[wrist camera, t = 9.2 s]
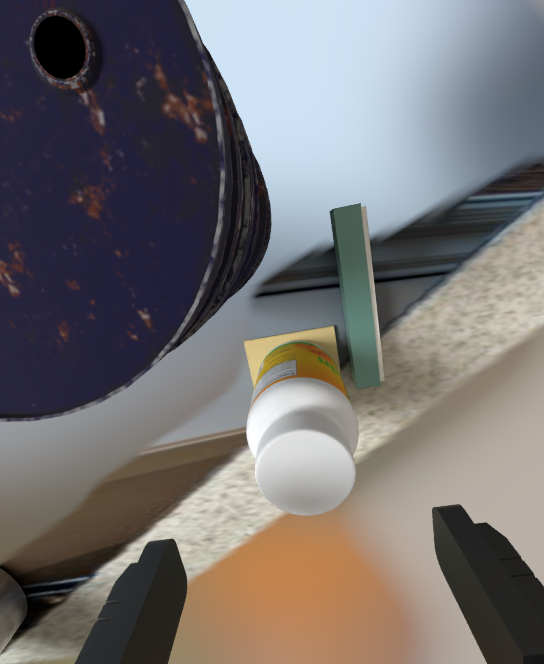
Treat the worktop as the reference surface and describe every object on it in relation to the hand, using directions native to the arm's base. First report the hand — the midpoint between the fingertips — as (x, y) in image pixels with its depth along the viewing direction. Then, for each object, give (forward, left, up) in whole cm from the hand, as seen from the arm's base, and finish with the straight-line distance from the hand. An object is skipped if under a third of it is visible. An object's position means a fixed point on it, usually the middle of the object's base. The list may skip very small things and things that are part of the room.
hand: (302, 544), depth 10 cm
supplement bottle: (0, 0, -13) cm, 13 cm away
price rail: (+5, +5, -13) cm, 14 cm away
